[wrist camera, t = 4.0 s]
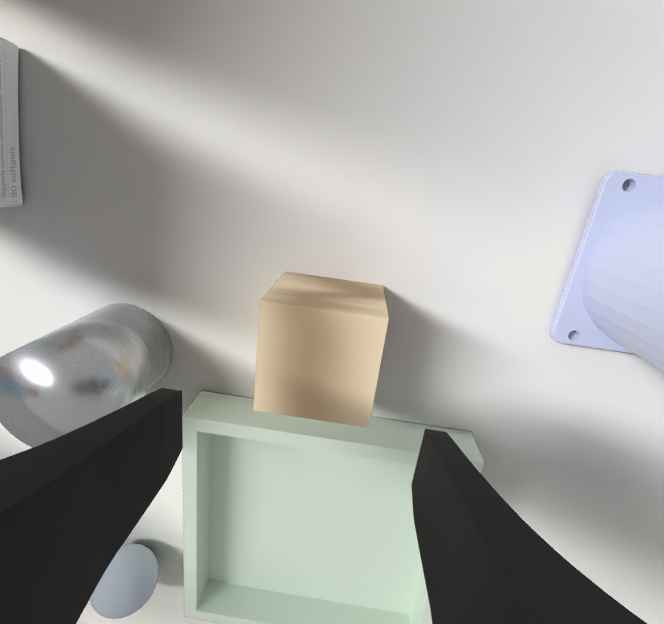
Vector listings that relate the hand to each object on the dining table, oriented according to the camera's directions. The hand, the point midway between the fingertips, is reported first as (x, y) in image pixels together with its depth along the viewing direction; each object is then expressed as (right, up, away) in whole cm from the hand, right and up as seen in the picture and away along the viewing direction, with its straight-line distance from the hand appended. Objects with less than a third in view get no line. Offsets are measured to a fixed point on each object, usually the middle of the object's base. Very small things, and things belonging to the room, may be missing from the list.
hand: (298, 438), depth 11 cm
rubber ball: (-12, -13, +16) cm, 24 cm away
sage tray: (0, -9, +13) cm, 16 cm away
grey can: (-10, +2, +10) cm, 15 cm away
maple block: (+1, +3, +9) cm, 10 cm away
